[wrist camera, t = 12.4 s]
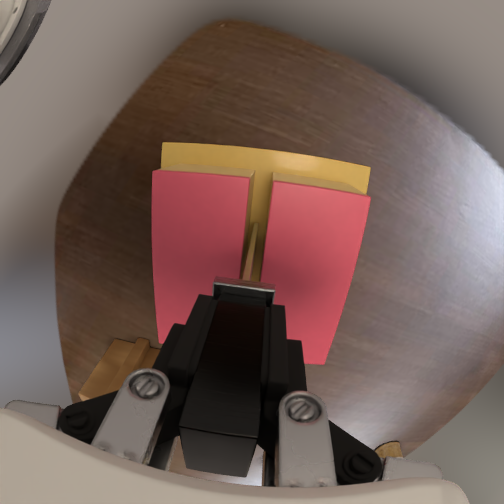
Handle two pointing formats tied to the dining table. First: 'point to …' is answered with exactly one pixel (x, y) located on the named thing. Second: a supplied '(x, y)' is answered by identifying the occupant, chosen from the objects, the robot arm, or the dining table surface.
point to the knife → (228, 378)
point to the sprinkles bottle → (389, 450)
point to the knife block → (118, 367)
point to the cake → (269, 232)
